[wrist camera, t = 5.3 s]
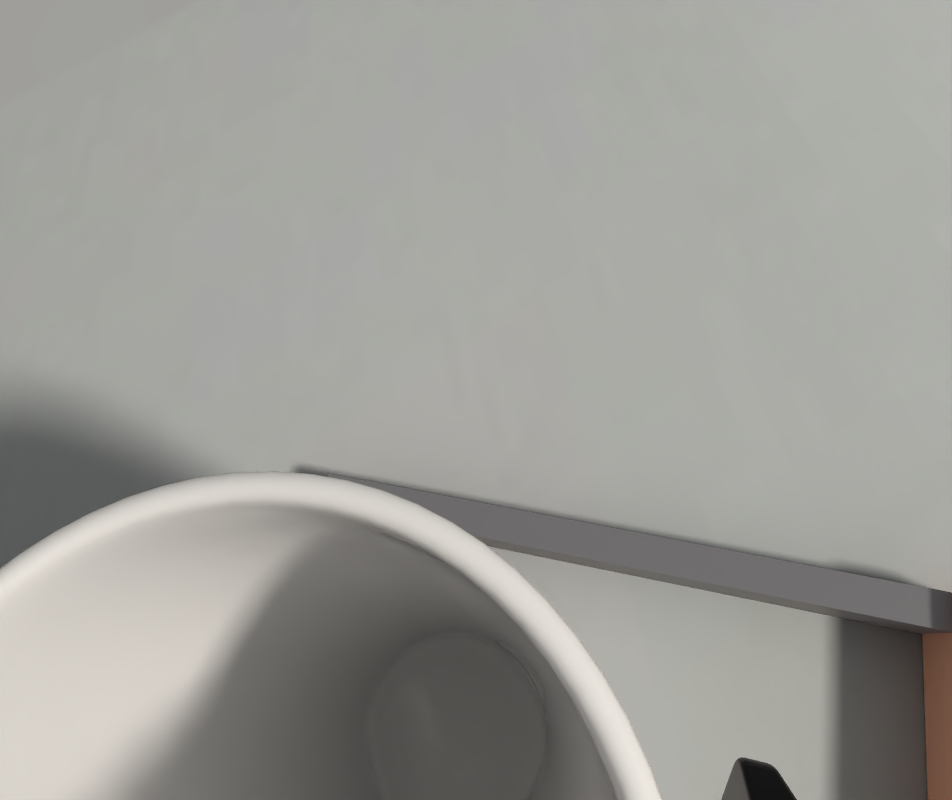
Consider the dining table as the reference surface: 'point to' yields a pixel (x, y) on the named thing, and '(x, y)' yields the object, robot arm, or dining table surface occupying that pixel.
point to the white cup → (294, 657)
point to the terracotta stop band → (938, 713)
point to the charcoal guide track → (693, 564)
